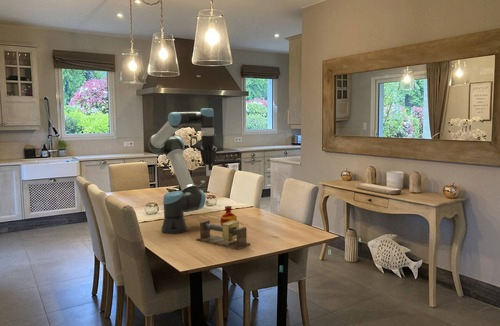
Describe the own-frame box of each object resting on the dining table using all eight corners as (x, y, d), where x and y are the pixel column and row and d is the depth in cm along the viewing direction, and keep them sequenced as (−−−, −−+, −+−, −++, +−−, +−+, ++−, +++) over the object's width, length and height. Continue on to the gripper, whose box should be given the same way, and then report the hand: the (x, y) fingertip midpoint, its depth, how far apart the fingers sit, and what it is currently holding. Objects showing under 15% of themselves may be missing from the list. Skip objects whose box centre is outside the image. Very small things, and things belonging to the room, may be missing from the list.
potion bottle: (222, 234, 236) (221, 209, 235) (218, 229, 246) (218, 205, 245) (239, 232, 239) (239, 207, 237) (235, 228, 249) (235, 204, 247)
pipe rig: (196, 240, 226) (196, 222, 225) (208, 235, 234) (208, 218, 233) (239, 250, 208) (238, 231, 207) (250, 244, 216) (250, 226, 215)
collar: (222, 240, 215) (222, 224, 214) (233, 236, 222) (233, 220, 221) (228, 241, 212) (228, 225, 211) (239, 237, 220) (238, 221, 219)
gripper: (195, 135, 234) (196, 175, 236) (212, 135, 226) (213, 177, 229) (203, 134, 240) (204, 174, 242) (220, 135, 232) (221, 175, 235)
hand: (208, 175), depth 236 cm, fingers closed
